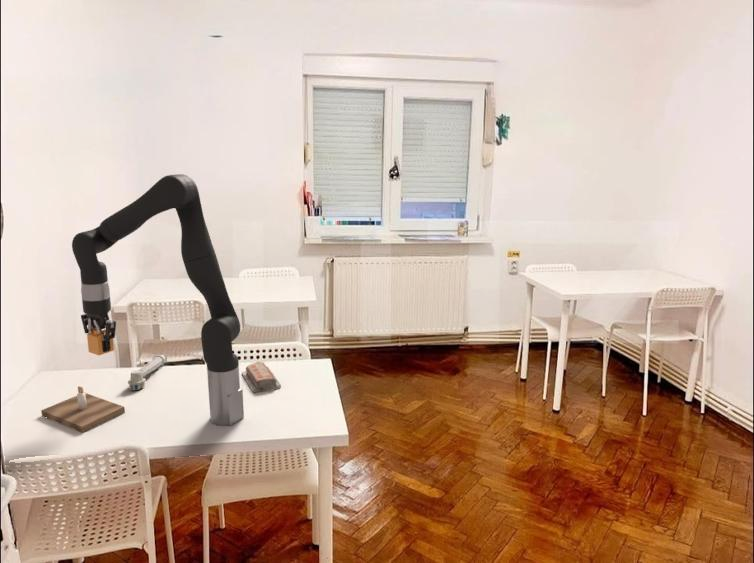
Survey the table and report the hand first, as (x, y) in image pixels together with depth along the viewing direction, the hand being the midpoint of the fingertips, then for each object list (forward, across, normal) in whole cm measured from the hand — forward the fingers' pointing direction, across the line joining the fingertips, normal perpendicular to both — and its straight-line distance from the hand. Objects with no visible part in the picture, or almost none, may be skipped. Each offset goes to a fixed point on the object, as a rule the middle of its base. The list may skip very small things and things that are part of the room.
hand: (100, 349), depth 163 cm
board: (+21, +3, +6) cm, 22 cm away
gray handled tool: (+21, +10, -23) cm, 33 cm away
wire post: (+19, +3, +6) cm, 20 cm away
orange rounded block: (+1, 0, 0) cm, 1 cm away
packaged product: (+20, -28, -41) cm, 54 cm away
